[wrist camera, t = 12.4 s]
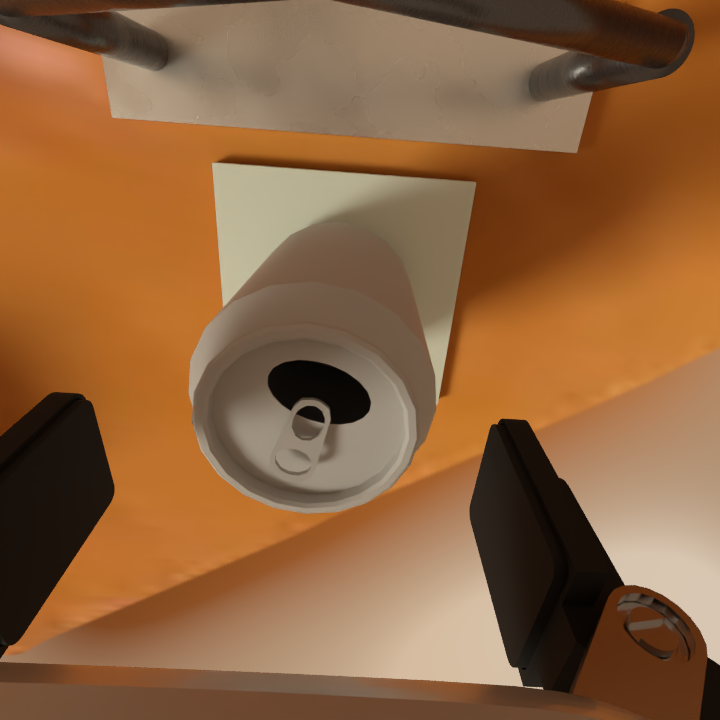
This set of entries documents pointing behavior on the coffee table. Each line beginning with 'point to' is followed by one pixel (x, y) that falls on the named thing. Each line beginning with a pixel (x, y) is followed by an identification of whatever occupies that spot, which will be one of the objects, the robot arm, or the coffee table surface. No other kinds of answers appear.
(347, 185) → the pad
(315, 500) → the can
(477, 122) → the plate with bar handle
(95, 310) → the coffee table surface
